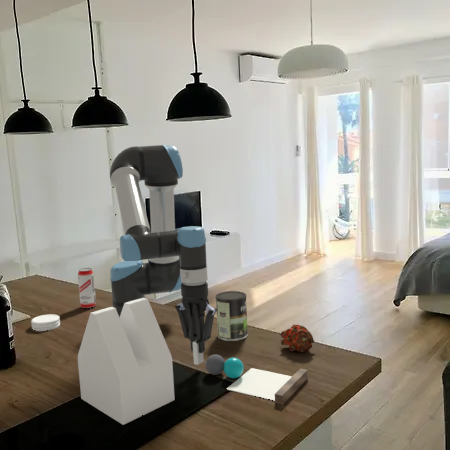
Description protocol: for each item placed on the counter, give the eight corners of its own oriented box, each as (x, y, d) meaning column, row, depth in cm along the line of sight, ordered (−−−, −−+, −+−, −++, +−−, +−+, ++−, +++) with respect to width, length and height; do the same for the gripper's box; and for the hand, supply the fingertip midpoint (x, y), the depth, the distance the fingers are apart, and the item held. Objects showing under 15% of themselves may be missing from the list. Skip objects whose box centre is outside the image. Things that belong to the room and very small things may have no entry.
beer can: (94, 309, 206) (90, 270, 203) (78, 309, 206) (75, 271, 204) (98, 304, 212) (94, 267, 210) (83, 305, 212) (79, 267, 210)
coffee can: (250, 330, 174) (248, 290, 172) (245, 341, 164) (243, 299, 162) (220, 329, 176) (219, 290, 174) (214, 340, 166) (212, 299, 164)
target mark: (251, 368, 144) (251, 367, 144) (297, 378, 136) (297, 377, 136) (226, 389, 132) (226, 388, 132) (274, 401, 125) (274, 400, 124)
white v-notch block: (174, 400, 128) (168, 305, 124) (123, 425, 117) (114, 321, 113) (131, 378, 141) (124, 291, 137) (81, 399, 130) (72, 305, 127)
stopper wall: (300, 377, 137) (300, 368, 137) (307, 378, 136) (307, 369, 135) (275, 403, 123) (274, 393, 123) (282, 405, 122) (282, 395, 122)
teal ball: (229, 370, 142) (230, 352, 141) (247, 375, 140) (247, 357, 139) (219, 378, 138) (219, 359, 137) (237, 384, 135) (237, 364, 134)
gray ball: (226, 351, 141) (230, 370, 142) (211, 351, 145) (215, 370, 145) (214, 358, 137) (219, 377, 137) (199, 358, 140) (204, 378, 140)
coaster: (54, 331, 182) (53, 322, 182) (27, 332, 182) (26, 323, 182) (64, 322, 192) (63, 313, 192) (38, 323, 192) (37, 314, 192)
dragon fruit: (312, 361, 150) (283, 356, 159) (324, 338, 155) (295, 334, 164) (298, 343, 147) (269, 339, 156) (311, 320, 151) (281, 317, 160)
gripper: (167, 283, 141) (172, 363, 144) (206, 287, 134) (210, 372, 137) (183, 277, 147) (187, 354, 150) (221, 281, 140) (225, 361, 144)
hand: (198, 362), depth 144 cm, fingers closed
